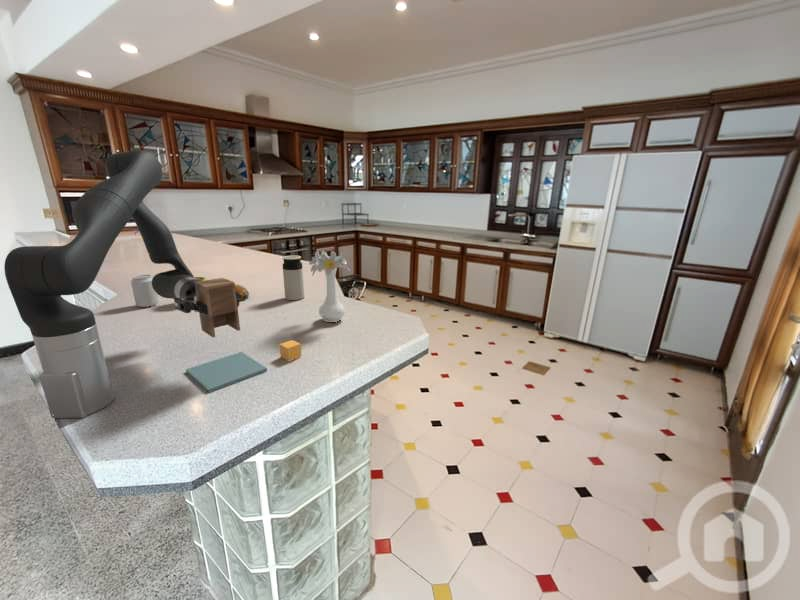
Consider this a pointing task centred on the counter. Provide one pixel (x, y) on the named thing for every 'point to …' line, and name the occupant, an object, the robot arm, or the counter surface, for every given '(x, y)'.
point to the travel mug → (293, 278)
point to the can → (144, 291)
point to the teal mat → (225, 371)
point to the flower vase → (329, 284)
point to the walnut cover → (218, 304)
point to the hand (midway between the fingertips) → (221, 306)
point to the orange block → (290, 350)
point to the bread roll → (242, 292)
